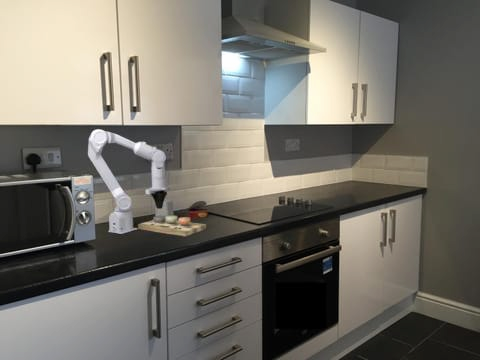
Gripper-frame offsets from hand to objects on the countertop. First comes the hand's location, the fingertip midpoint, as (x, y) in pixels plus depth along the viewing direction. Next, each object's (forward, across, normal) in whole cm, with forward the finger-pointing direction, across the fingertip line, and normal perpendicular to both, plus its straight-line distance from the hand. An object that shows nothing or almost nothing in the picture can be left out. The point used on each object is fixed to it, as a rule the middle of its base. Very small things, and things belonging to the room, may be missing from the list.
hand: (159, 208), depth 185 cm
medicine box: (+9, +16, +11) cm, 21 cm away
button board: (+8, 0, -7) cm, 11 cm away
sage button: (+5, 0, -7) cm, 8 cm away
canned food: (+9, +27, -1) cm, 28 cm away
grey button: (+6, 0, 0) cm, 6 cm away
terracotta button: (+5, 0, -14) cm, 15 cm away
